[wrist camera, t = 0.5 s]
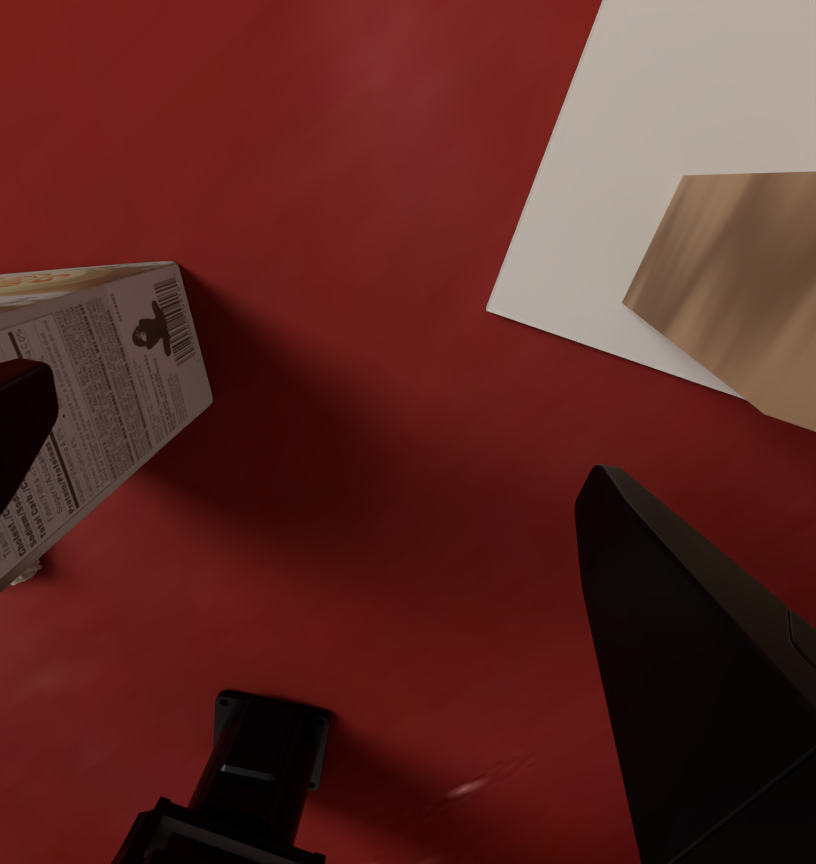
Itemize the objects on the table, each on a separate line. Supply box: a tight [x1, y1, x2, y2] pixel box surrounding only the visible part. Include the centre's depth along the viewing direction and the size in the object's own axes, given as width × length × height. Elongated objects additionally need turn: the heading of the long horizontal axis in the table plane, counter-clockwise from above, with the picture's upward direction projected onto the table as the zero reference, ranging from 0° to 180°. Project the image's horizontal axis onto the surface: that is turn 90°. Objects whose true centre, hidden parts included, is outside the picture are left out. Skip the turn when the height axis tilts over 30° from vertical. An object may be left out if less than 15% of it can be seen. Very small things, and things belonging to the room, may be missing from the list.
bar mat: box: [486, 0, 816, 400], centre depth 18 cm, size 20×11×1 cm, turn 162°
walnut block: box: [622, 171, 816, 432], centre depth 15 cm, size 4×4×11 cm
